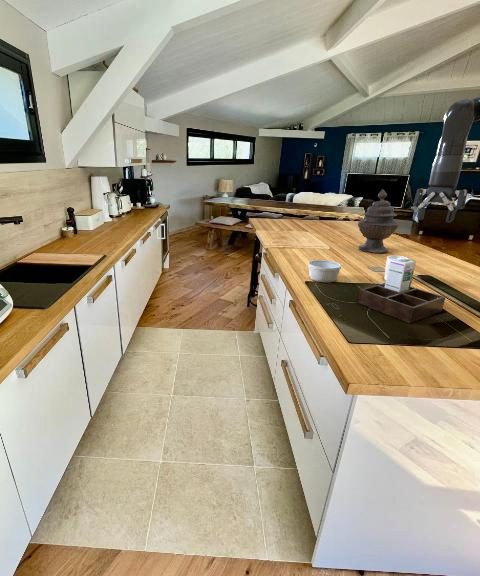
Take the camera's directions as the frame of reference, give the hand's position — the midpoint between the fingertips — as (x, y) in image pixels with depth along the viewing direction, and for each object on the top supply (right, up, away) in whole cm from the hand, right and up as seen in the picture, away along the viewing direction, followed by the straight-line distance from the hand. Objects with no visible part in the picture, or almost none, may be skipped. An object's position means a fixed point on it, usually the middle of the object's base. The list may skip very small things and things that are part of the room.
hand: (433, 220), depth 107 cm
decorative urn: (+23, -1, +77) cm, 80 cm away
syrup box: (-8, -27, +8) cm, 29 cm away
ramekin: (-25, -19, +32) cm, 45 cm away
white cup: (+5, -20, +29) cm, 36 cm away
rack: (-10, -30, +3) cm, 32 cm away
